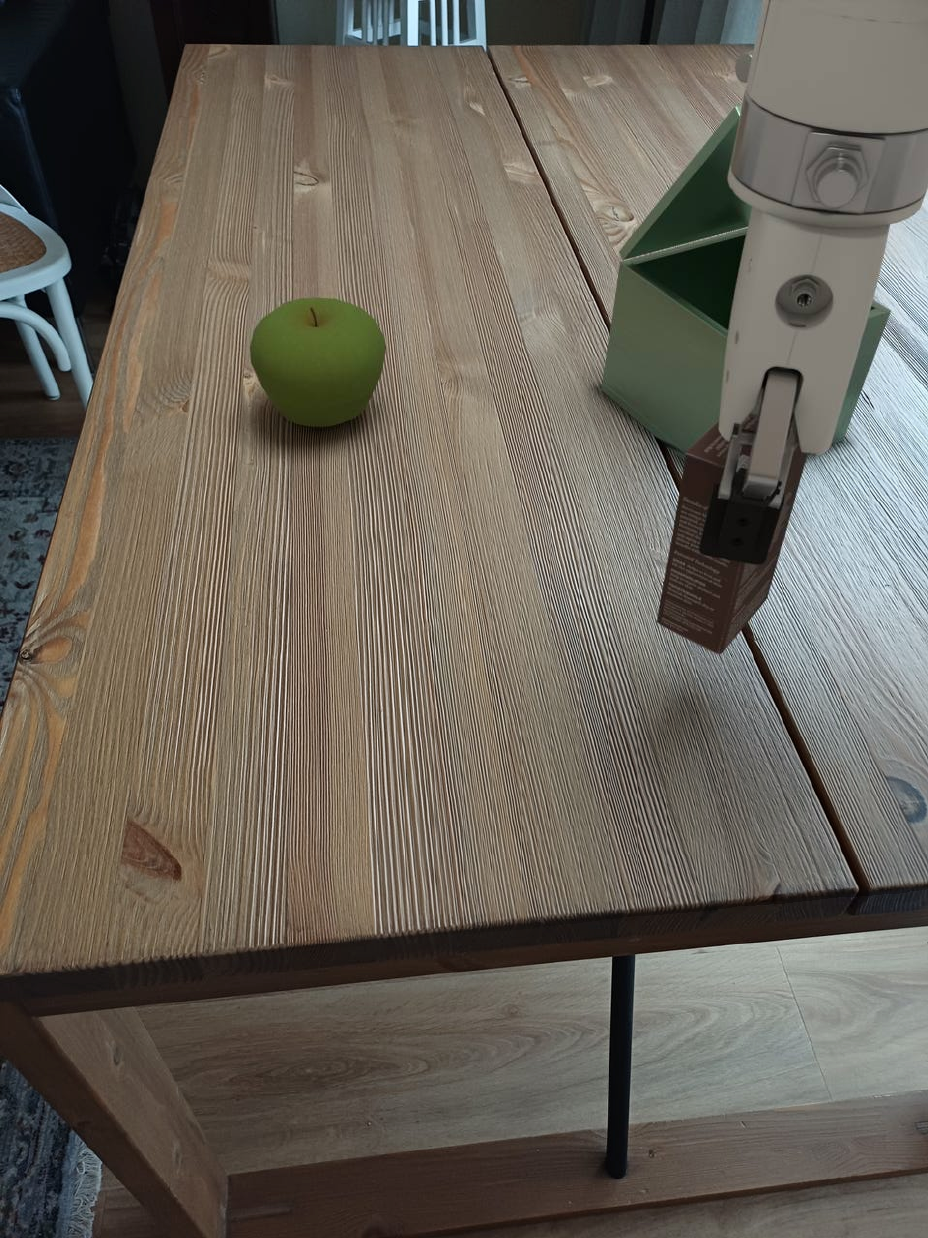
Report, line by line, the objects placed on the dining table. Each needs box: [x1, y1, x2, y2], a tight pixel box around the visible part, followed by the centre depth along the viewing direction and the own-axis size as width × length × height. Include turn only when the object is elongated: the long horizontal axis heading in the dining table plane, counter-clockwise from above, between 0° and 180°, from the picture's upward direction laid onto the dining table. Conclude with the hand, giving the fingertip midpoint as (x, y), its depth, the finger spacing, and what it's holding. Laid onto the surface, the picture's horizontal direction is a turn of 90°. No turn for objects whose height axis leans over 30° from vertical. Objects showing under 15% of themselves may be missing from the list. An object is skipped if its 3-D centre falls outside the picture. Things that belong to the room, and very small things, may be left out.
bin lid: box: [618, 50, 753, 261], centre depth 72 cm, size 16×14×5 cm
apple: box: [249, 297, 387, 428], centre depth 78 cm, size 11×10×10 cm
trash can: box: [600, 227, 892, 462], centre depth 79 cm, size 16×14×12 cm
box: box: [656, 417, 809, 656], centre depth 52 cm, size 6×4×12 cm
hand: (737, 505), depth 50 cm, fingers closed on box, 7 cm apart
